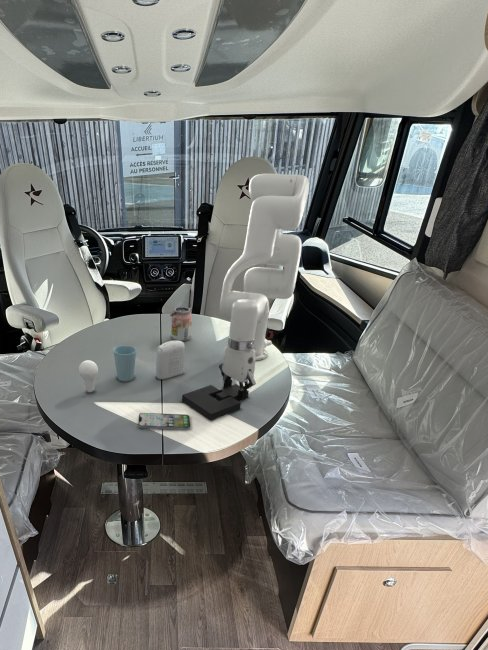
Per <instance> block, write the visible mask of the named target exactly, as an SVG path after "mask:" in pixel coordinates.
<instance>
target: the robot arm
mask: <svg viewBox="0 0 488 650" xmlns="http://www.w3.org/2000/svg"><path fill="white" fill-rule="evenodd" d="M309 192H310V180H309V178H308V177H307V176H306V175H304V174H303V175H302V174H288V173H287V174H286V173H260V174H259V173H258V174H256V175H253V176H252V178H250V181H249V183H248V194H249V198H250V201H251V207H250V211H249V216H248V221H247V222H248V223H247V229H246V235H245V240H244V247H243V251H242V254H241V255H240V257H239V258H238V259H237V260H235V261H234V263H232V265H231V266H230V267H229V269H228V270H227V272H226V274H225V277H224V279H223V281H222V282H223V283H222V288H221V294H220V295H221V296H220V300H219V310H220V313H221V315H223V316H224V317H229V318H230V324H229V333H228V340H227V344H226V347H225V349H224V354H223V359H222V363H221V364H219V365H218V369H219V370H220V374H221V376H222V382H223V386H222V389H223V388H226V387H229V386H232V385H233V379H234V380H236V382H238V385H239V386H240V390H238V398H237V400H238V401H239V402H242V401H244V400H246V399H247V398H246V392H247V390H249V389H251V388H252V387H254V386H256V384H257V383H256V380H255V369H256V361H261V360H264V359H265V358H266V357H267V355H268V354H267V350H266V348H267V347H270V346H272V344H273V342H272V340H270V339H269V340H266V335H267V329H268V323H269V322H268V321H269V317H270V316H269V315H270V302H269V301H270V300H269V299H277V300H288V299H290V298H291V297H292V296H293V294H294V291H295V288H296V282H297V279H298V272H299V268H300V262H301V255H302V248H303V244H302V243H303V241H302V239H301V238H300V236H298V235H296V234H289V233H288V234H287V233H282V231H295V230H297V229H298V228H299V226H300V224H301V222H302V220H303V216H304V213H305V209H306V204H307V200H308V197H309ZM257 265H266V266H267V265H268V266H279V267H283V268H273V267H263V266H257ZM254 266H255V267H254ZM246 269H248V270H246ZM245 270H246V272H245V273H244V276H243V291H238V290H233V287H234V286H233V285H234V282H235V279H236V278H237V277H238V276H239V275H240V274H241V273H242V272H243V271H245Z"/></svg>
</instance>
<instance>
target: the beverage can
mask: <svg viewBox="0 0 488 650" xmlns="http://www.w3.org/2000/svg"><path fill="white" fill-rule="evenodd" d="M192 311H193V309H192V308H190V307H186V306H177V307H174V308H173V310H172V312H171V313H169V316H170V317H171V331H170V332H171V333H170V334H171V336H170V337H171V338H172V341H181V342H187V341H189V340H190V339H191V338H192V323H193V315H192Z"/></svg>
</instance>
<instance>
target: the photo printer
mask: <svg viewBox="0 0 488 650" xmlns="http://www.w3.org/2000/svg"><path fill="white" fill-rule="evenodd" d="M185 349H186V347H185V343H184V341H175V340H170V341H166V342H164V343H162V344H160V345H159V346H157V348H156V365H155V366H156V368H155V369H156V372H155V375H156V378H157V379H158V380H166V379H170V378H173V377H177V376H180V375H183V374H184V368H185V367H184V366H185V351H186V350H185Z"/></svg>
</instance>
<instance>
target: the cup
mask: <svg viewBox="0 0 488 650" xmlns="http://www.w3.org/2000/svg"><path fill="white" fill-rule="evenodd" d="M113 357H114V363H115V369H116V375H117V379H118V380H119V381H121V382H130V381H132V380H134V378H135V369H136V357H137V348H136V347H134V346H133V345H126V344H125V345H118V346H115V347H114V348H113Z"/></svg>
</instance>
